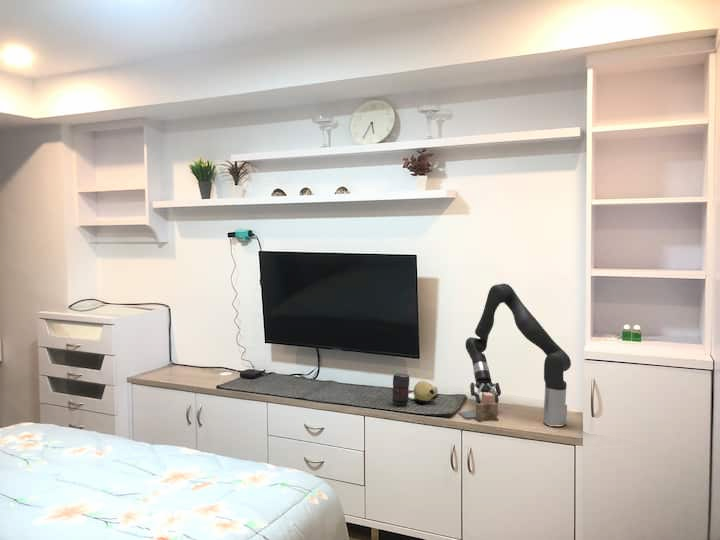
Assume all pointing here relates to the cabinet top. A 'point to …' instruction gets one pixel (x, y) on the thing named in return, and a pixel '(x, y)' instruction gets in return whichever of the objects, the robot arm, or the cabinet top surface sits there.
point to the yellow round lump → (424, 391)
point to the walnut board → (486, 412)
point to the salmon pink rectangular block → (487, 398)
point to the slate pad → (468, 414)
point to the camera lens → (400, 389)
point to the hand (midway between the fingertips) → (488, 403)
